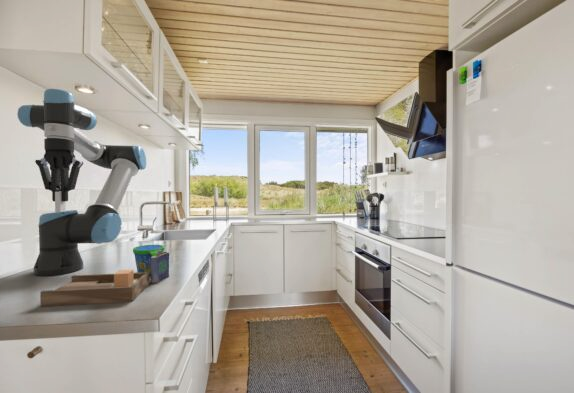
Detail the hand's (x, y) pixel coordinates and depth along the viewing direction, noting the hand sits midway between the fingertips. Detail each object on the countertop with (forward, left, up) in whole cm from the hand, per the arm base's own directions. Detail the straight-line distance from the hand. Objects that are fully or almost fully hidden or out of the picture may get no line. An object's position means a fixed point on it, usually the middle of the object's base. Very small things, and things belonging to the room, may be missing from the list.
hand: (60, 211), depth 91 cm
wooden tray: (+10, +16, -24) cm, 31 cm away
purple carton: (-2, +30, -25) cm, 39 cm away
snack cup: (-10, +24, -25) cm, 36 cm away
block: (+10, +23, -22) cm, 33 cm away
